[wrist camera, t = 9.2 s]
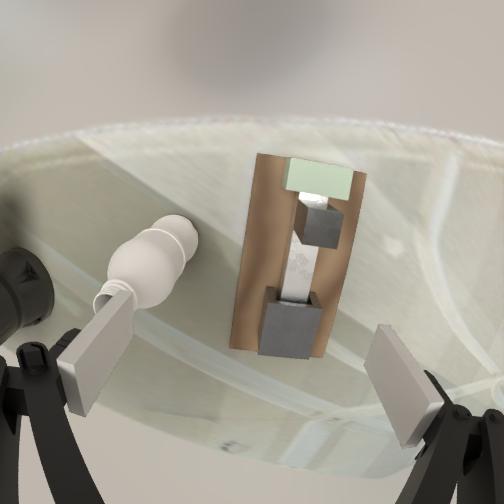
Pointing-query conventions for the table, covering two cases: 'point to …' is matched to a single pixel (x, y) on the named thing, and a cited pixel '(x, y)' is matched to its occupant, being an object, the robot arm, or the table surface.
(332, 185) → the socket block
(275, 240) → the base board
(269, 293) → the sleeve
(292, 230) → the rod
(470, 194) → the table surface
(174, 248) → the water bottle
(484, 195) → the table surface
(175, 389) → the table surface
